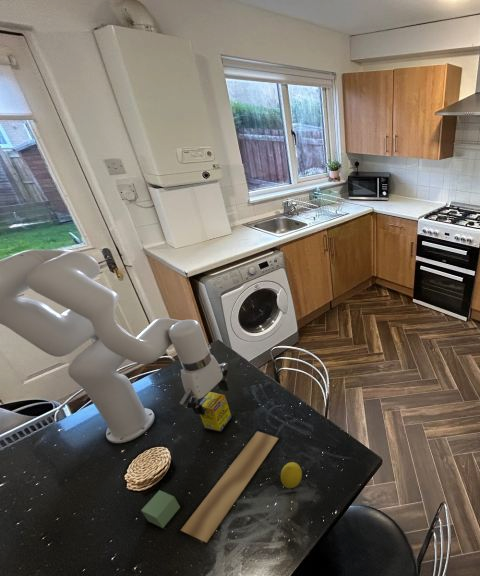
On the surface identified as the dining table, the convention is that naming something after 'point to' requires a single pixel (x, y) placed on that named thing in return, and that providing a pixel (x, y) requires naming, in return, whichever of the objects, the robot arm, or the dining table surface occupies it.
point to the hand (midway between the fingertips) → (212, 401)
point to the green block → (160, 509)
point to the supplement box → (215, 411)
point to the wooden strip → (229, 488)
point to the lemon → (291, 475)
